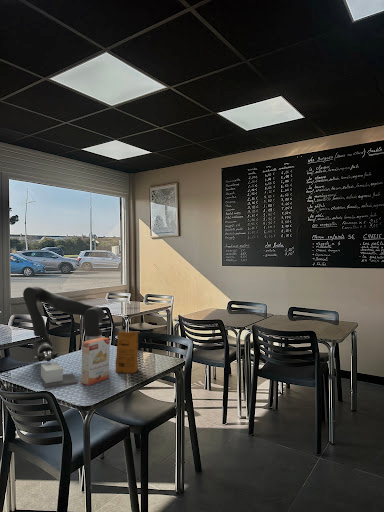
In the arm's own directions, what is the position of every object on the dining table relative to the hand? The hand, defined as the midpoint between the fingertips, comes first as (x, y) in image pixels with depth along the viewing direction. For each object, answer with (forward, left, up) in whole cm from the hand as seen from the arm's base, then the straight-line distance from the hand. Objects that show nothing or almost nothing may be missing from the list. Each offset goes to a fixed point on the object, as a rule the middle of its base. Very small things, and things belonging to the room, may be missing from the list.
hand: (48, 359), depth 188 cm
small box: (0, -2, -6) cm, 6 cm away
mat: (-5, +8, -10) cm, 13 cm away
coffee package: (-40, +6, -10) cm, 42 cm away
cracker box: (-21, +15, -10) cm, 28 cm away
